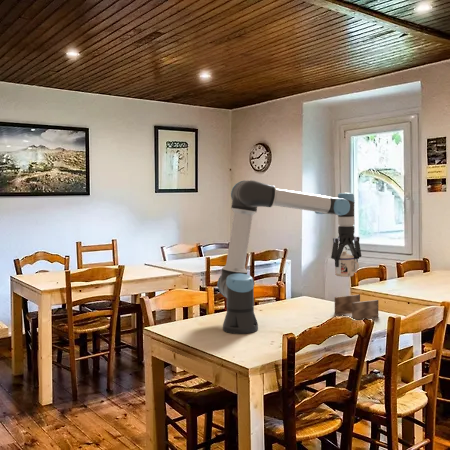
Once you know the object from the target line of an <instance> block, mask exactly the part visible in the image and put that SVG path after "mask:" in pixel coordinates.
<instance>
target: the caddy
mask: <svg viewBox="0 0 450 450" xmlns="http://www.w3.org/2000/svg"><path fill="white" fill-rule="evenodd" d="M337 314H338V316H340V315H343V316H349V317H351V318H353V319H360V320H364V319H363V318H368V319H375V318H379V299H372V300H365V301H363V300H362V301H361V294H351V295H341V296H335V297H334V315H337ZM343 316H342V317H343Z"/></svg>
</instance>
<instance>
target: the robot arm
mask: <svg viewBox="0 0 450 450" xmlns="http://www.w3.org/2000/svg"><path fill="white" fill-rule="evenodd" d="M230 197H231V207H230V209H231V210H232V212H233V216H232V222H231V230H230V237H229V244H228V250H227V257H226V263H225V265H224V266H222V268H221V273H220V276H219V277H218V280H217V288H218V291H219V293H220V294H221V295H222V296H223V297H225V299H226V314H225V316H224V317H225V318H224V320H223V323H222V330H223V331H224V332H225V333H228V334H235V335H240V334H241V335H242V334H252V333H256V332H257V331H258V330H259V323H258V321H257V318H256V315H255V305H254V304H255V299H254V298H255V296H254V291H255V290H254V289H255V288H254V287H255V283H254V278H253V276H251V275H250V274H248V270H247V269H246V263H247V255H248V249H249V241H250V237H251V236H250V234H251V229H252V221H253V216H254V215H255V214H256V213H257V211H258V207H260V208H272V207H273V206H274V207H281V208H286V209H287V208H288V209H293V210H295V209H296V210H301V211H302V210H303V211H307V212H314V213H315V214H317V215H333V216H334V215H335V216H337V219H338V220H337V222H338V223H337V225H338V226H337V228H338V229H337V233H338V237H333V238H332V243H333V244H332V248H331V249H332V250H331V255H330V259H331V260H334V266H335V267H336V274H341V260H339V259H340V256H341V254H342V252H343V251H344V248H345V247H346V246H348V247H349V250H350V252H351V255H352V256H354V261H356V262H358V263H359V261H358V260H359V259H360V258H361V257H362V251H361V246H360V236H355V235H354V234H355V226H354V225H355V194H354V193H352V192H339V193H338V194H337V196H336V197H333V196H328V195H321V194H314V193H308V192H302V191H297V190H296V191H295V190H288V189H283V188H276V186H275V185H273V184H267V183H263V182H260V181H256V180H252V179H251V180H245V179H244V180H241V181H239V182H237V183H235V184H234V186H233V187H232V189H231V192H230ZM356 268H357V264H356V263H354V270H355V269H356ZM357 272H358V270H357V271H354V274H356V273H357Z"/></svg>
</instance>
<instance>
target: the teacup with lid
mask: <svg viewBox="0 0 450 450" xmlns="http://www.w3.org/2000/svg"><path fill="white" fill-rule="evenodd" d="M347 252H348V251H346V250H343V251H342V254H341V256H340V259H339V260H341V274H336V267H335V276H337V277H341V278H342V277H343V278H344V277H345V278H350V277H353V276H354V275H355V272H354V271H357V272H358V269H359V267H360V264H359V261H358V262H356V261H354V256H353V255H352V254H350V253H347ZM354 263H356V264H357V268H356V269H355V270H354Z"/></svg>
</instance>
